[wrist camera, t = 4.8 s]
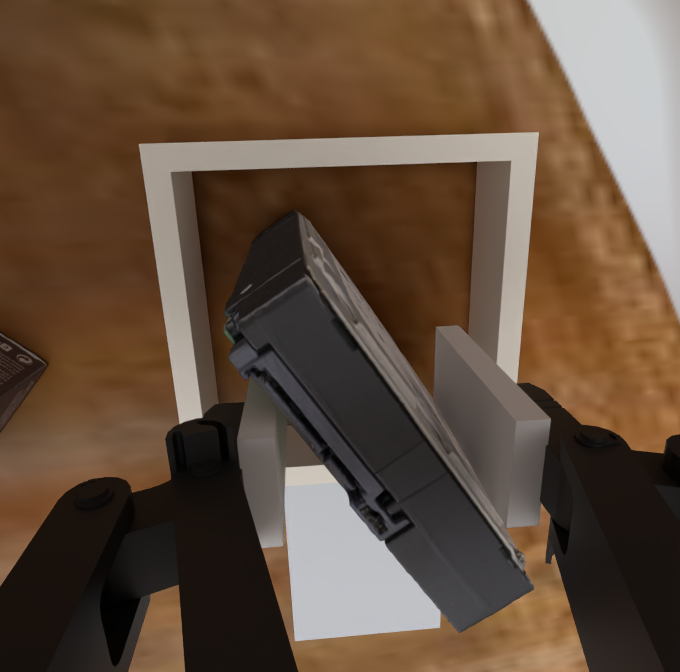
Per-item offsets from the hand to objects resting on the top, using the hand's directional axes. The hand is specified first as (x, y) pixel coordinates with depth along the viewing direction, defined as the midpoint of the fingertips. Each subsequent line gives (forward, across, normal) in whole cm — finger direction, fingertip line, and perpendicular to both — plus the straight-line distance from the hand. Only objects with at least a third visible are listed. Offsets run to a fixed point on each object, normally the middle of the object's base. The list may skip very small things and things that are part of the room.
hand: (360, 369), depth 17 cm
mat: (+9, +1, -15) cm, 17 cm away
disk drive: (+9, 0, 0) cm, 9 cm away
